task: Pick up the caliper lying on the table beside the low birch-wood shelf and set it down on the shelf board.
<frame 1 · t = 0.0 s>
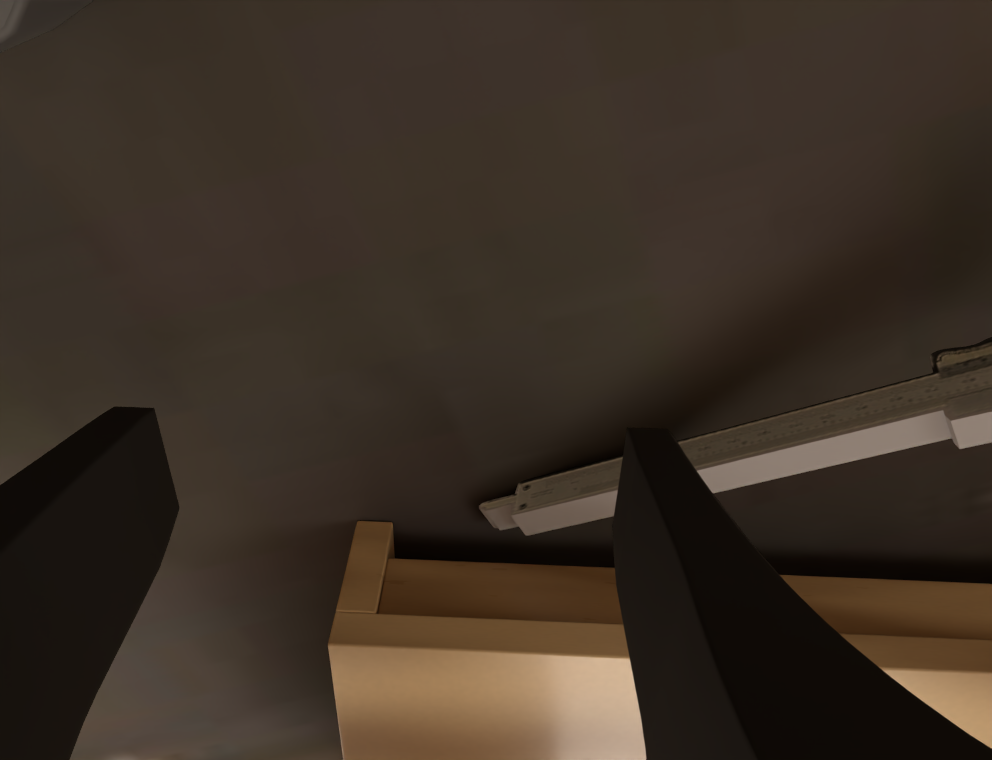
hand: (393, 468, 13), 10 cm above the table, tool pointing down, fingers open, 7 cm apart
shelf: (720, 634, 30), on the table
caliper: (788, 383, 24), on the table
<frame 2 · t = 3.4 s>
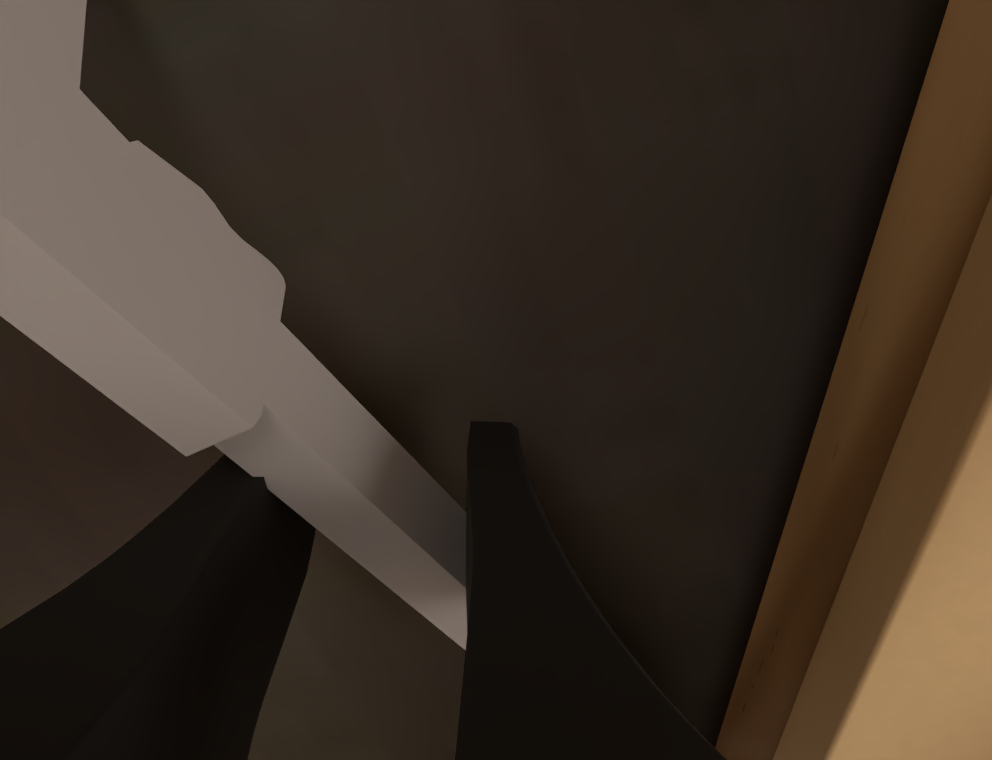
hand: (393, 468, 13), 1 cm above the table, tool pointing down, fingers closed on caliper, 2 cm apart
caliper: (412, 404, 14), on the table, touching gripper
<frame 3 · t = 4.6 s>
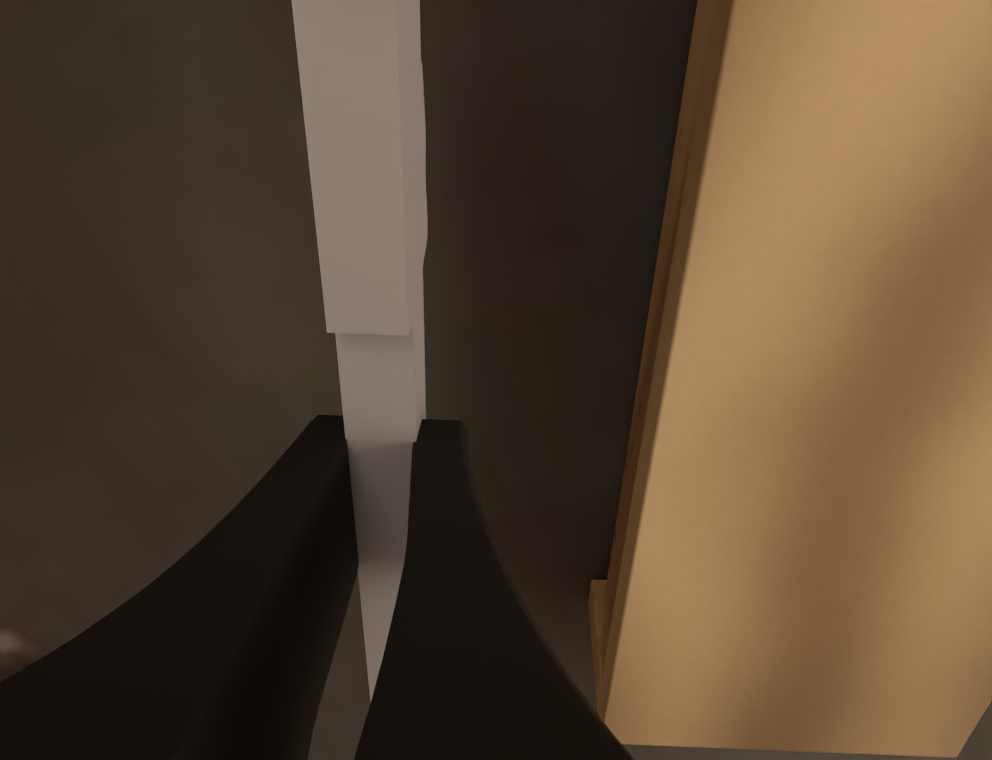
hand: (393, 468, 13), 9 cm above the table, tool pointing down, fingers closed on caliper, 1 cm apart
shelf: (846, 249, 20), on the table
caliper: (409, 400, 15), point 6 cm above the table, touching gripper
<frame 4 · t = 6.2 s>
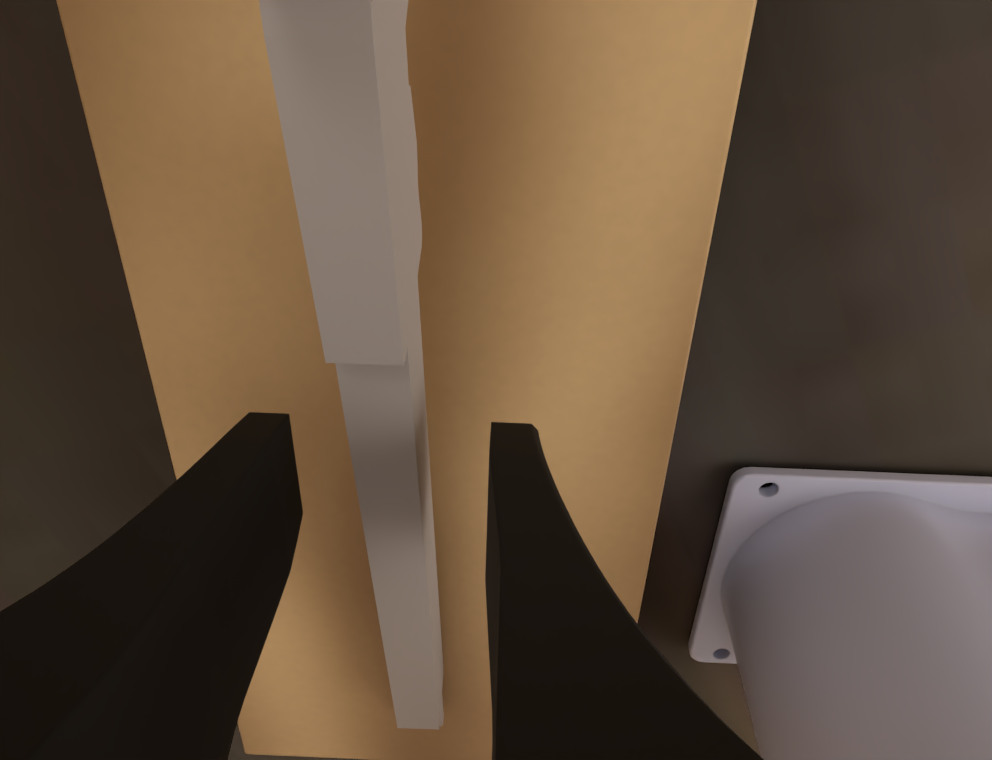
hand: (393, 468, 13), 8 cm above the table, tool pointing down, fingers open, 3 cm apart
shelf: (437, 248, 19), on the table
caliper: (411, 371, 15), point 5 cm above the table, touching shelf
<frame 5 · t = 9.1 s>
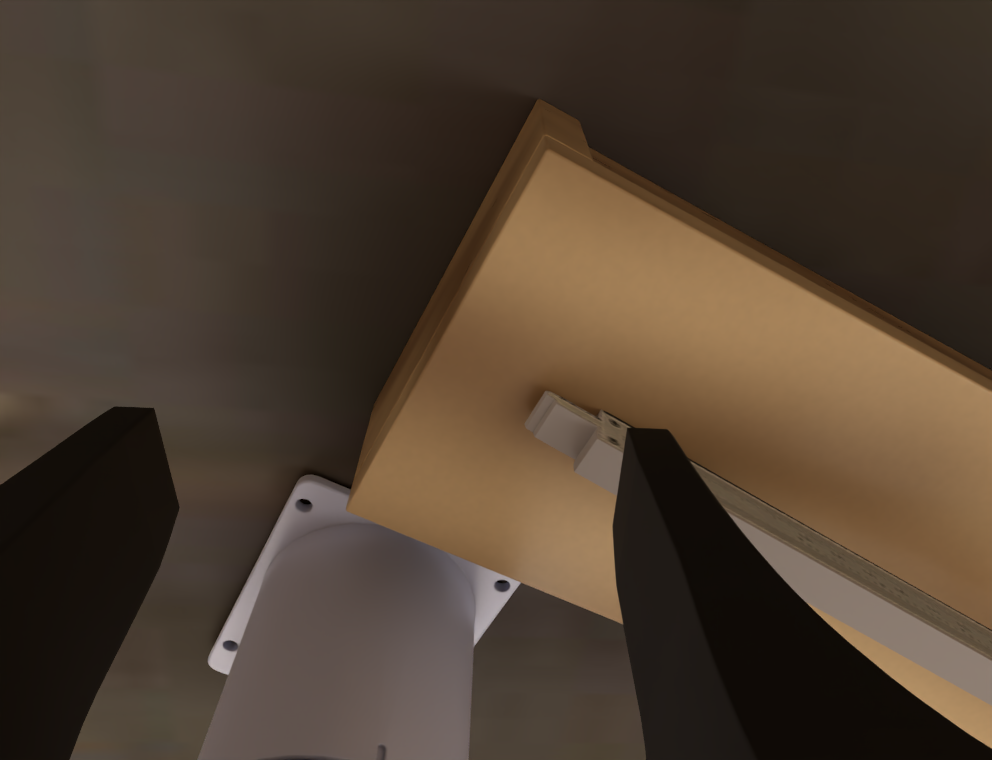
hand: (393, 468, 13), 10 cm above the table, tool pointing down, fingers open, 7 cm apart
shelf: (828, 454, 25), on the table
caliper: (886, 556, 21), point 5 cm above the table, touching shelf
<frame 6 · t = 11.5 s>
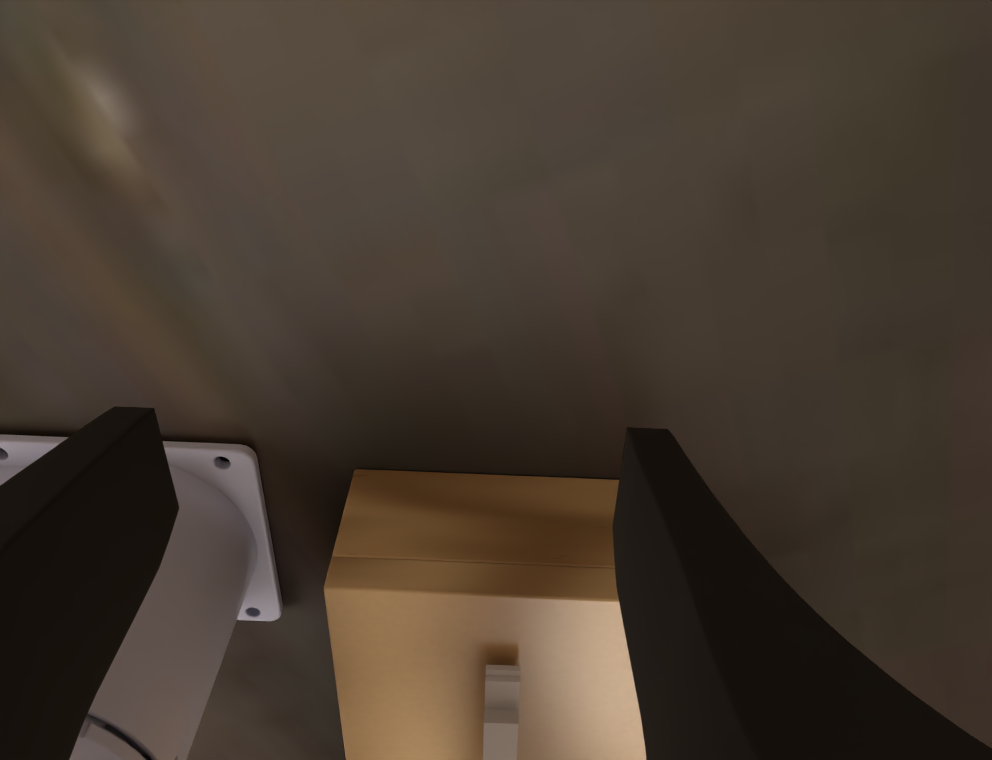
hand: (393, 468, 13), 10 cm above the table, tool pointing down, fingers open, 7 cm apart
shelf: (497, 715, 34), on the table
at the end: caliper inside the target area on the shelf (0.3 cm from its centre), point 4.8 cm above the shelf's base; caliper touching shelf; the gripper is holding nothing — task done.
